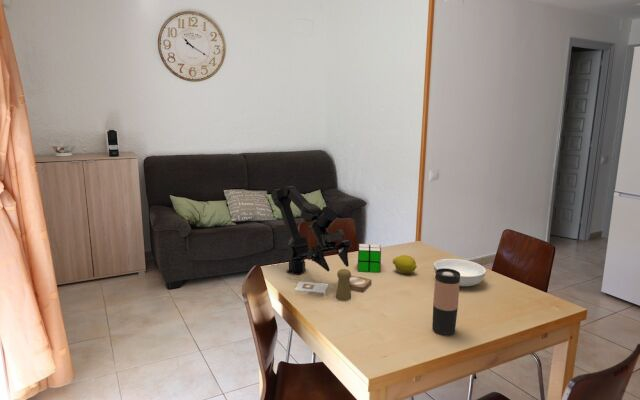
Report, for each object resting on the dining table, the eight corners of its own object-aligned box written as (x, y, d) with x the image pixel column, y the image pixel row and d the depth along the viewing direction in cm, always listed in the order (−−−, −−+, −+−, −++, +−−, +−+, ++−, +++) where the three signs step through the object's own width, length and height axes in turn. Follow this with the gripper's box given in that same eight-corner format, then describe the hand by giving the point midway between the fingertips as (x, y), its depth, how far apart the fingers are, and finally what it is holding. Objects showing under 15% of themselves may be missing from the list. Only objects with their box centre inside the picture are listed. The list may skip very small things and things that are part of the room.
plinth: (339, 287, 177) (339, 282, 177) (348, 279, 186) (348, 274, 186) (363, 292, 173) (363, 287, 173) (371, 283, 182) (371, 278, 182)
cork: (353, 295, 170) (354, 268, 168) (349, 301, 164) (349, 273, 162) (338, 293, 172) (338, 266, 170) (333, 299, 166) (334, 271, 164)
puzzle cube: (379, 265, 205) (380, 244, 203) (380, 273, 195) (381, 251, 193) (357, 264, 205) (358, 243, 203) (357, 271, 196) (358, 250, 194)
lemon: (419, 273, 195) (420, 256, 193) (411, 278, 189) (412, 260, 187) (398, 267, 202) (399, 251, 200) (389, 272, 196) (390, 254, 194)
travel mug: (428, 325, 147) (432, 268, 143) (450, 324, 148) (455, 268, 144) (436, 336, 140) (440, 276, 136) (459, 335, 141) (464, 276, 137)
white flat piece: (294, 290, 174) (294, 289, 174) (299, 282, 182) (299, 281, 182) (324, 293, 172) (324, 292, 172) (328, 284, 180) (328, 283, 180)
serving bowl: (429, 287, 180) (430, 271, 179) (436, 270, 199) (437, 256, 198) (483, 295, 172) (485, 278, 171) (485, 277, 191) (486, 262, 190)
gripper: (310, 226, 165) (328, 263, 158) (349, 220, 175) (367, 254, 169) (299, 242, 172) (315, 277, 166) (337, 235, 183) (353, 267, 176)
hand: (338, 268), depth 169 cm, fingers open, 9 cm apart
